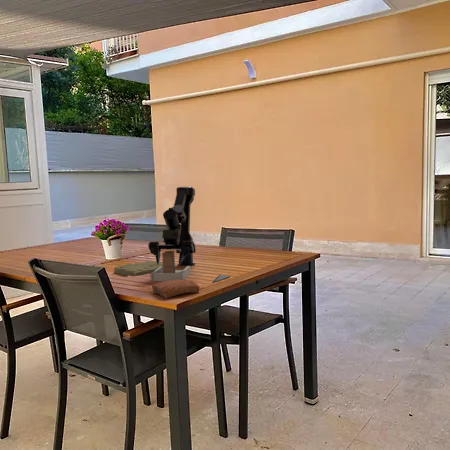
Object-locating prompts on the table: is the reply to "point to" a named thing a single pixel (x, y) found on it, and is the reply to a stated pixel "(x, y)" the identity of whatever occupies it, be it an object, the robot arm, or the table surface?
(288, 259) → the table surface
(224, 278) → the mat
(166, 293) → the ceramic shard
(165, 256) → the brown rectangular block
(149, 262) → the decorative tile
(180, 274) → the rack
